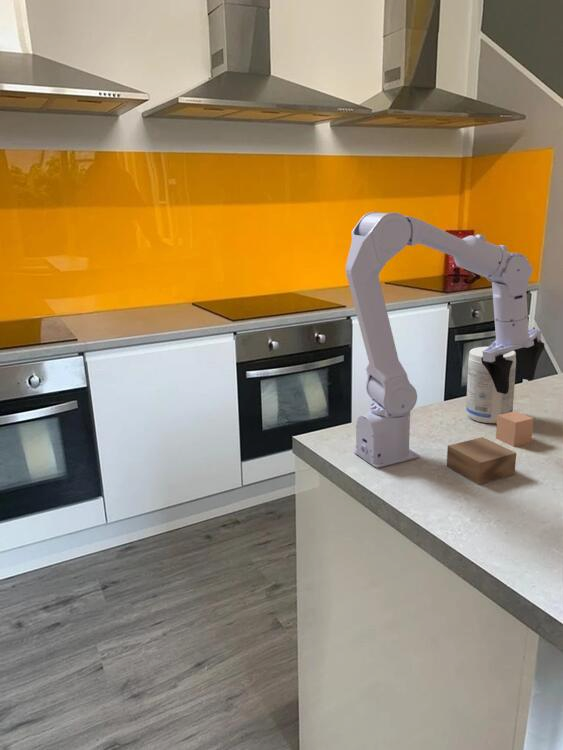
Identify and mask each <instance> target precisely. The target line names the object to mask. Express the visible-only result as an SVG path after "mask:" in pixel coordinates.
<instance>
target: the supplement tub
mask: <svg viewBox="0 0 563 750" xmlns="http://www.w3.org/2000/svg"><path fill="white" fill-rule="evenodd" d="M488 347H489V346H479V347H474V348H472V349H470V351H469V353H468V362H467V383H466V384H467V386H466V404H465V407H466V409H465V412H466V413H465V414H466V415H467V417H468V418H470V419H471V420H473V421H475V422H478V423H479V422H480V423H482V424H483V423H485V424H497V416H498V415H501V414H505V413H509V412H514V411H513V410H514V399H515V383H516V371H517V368H516V366H517V358H516V356H517V353H516V351H515V350H513V351H511V352H509V353H507V354H505V355H503V358H504V357H505V359H506V360H512V361H513V363H512V366H511V369H510V374H509V390H508V393H507V394H503V393H499V392H497V391H496V388H495V385H494V382H493V380H492V378H491V376H490V374H489V372H488V370H487V369H486V367H485V366H484V365H483V364H482V360H481V358H482V357H483V352H482V351H484V350H486V349H487V348H488Z"/></svg>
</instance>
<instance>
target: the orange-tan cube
mask: <svg viewBox="0 0 563 750" xmlns="http://www.w3.org/2000/svg"><path fill="white" fill-rule="evenodd" d="M533 426H534V417H531V416H528V415H526V414H523V413H521V412H518V411H516V410H514V411H513V412H509V413H505V414H501V415H498V416H497V423H496V431H495V439H496V440H498V441H500V442H502V443H504V444H507V445H508V446H512V447H514V448H515V447H519V446H522V445H526V444H529V443H532V439H533V428H534V427H533Z"/></svg>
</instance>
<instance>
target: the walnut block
mask: <svg viewBox="0 0 563 750" xmlns="http://www.w3.org/2000/svg"><path fill="white" fill-rule="evenodd" d="M516 461H517V452H515V451H513V450H511V449H509V448H507V447H504V446H503V445H500V444H499V443H496V442H494V441H493V440H490V439H488V438H486V437H483V436H481V437H477V438H473V439H469V440H466V441H460V442H458V443H454V444H453V443H452V444H448V445H447V451H446V467H447V468H449V469H450V470H452V471H454V472H456V473H458V474H459V475H460V476H463V477H464V478H466V479H468V480H469V481H471V482H473V483H474V484H476V485H483V484H486V483H490V482H492V481H496V480H500V479H503V478H507V477H511V476H513V475H515V473H516V472H515V471H516V465H517V464H516V463H517V462H516Z"/></svg>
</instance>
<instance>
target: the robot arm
mask: <svg viewBox="0 0 563 750" xmlns="http://www.w3.org/2000/svg"><path fill="white" fill-rule="evenodd" d="M486 239H487V236H484V235H482V234H475V236H474V235H468V236H466V237H463V238H460V237H458V236H457V235H454V234H451V233H449V232H447V231H445V230H444V229H441V228H439V227H437V226H435V225H433V224H430V223H428V222H426V221H424V220H422V219H419V218H417V217H413V216H409V215H403V214H402V213H399V212H394V211H392V212H389V213H387V212H378V211H370V212H367V213H365V214H364V215H362V217H361V218H360V219H359V221H358V222H357V223H356V225H355V226H354V228H353V229H351V244H350V247H349V251H348V255H347V259H346V263H345V275H346V279H347V283H348V286H349V290H350V293H351V294H350V295H351V297H352V302H353V306H354V310H355V314H356V318H357V321H358V324H359V328H360V329H359V330H360V334H361V337H362V339H363V340H362V341H363V345H364V348H365V353H366V356H367V360H368V365H367V366H366V369H365V370H366V373H367V374H366V375H367V379H366V384H365V389H366V393H367V394H368V396H369V397H370V398H371V404H370V410H368V411H367V412H366V413H365V414H362V415H360V416H359V417H358V418H357V420H356V424H355V425H356V428H355V431H356V432H355V435H356V436H355V437H356V438H355V443H356V444H355V449H354V450H353V452H354V454H356V455H358V456H359V457H360V458H362V460H365V461H366V462H367V463H369V464H370V465H372V466H373V467H375V468H378V469H379V468H382V467H387V466H390V465H395V464H398V463H402V462H407V461H410V460H414V459H418V458H419V457H420V454H419V453H417V452H415V451H413V450H411V449H410V437H411V435H410V434H411V433H410V431H411V411H412V410H413V409H414V408H415V406H416V404H417V400H418V394H417V390H416V388H415V387H414V385H413V384H412V383H411V382H410V380H409V378H408V373H407V372H406V370H405V368H404V367H403V365H402V363H401V361H400V360H399V357H398V352H397V351H398V350H397V348H396V344H395V339H394V336H393V330H392V327H391V322H390V318H389V315H388V310H387V306H386V302H385V298H384V293H383V289H382V284H381V281H380V277H379V276H380V273H381V272H382V270H383V269H384V267H385V265H386V264H387V262H389V261H390V260H391V259H393V258H394V257H395V256H396V255H397V254H399V253H400V252H401V251H403V250H404V248H405V247H406V246H415V245H421V246H425V247H426V248H430V249H433V250H435V251H438V252H441V253H443V254H446V255H448V256H452V258H453V261H454V263H455V264H456V265H455V266H457V267H459V268H461V269H463V270H466V271H469V272H472V273H474V274H476V275H479V276H481V277H484V278H486V280H487V281H488V282H491V286H492V287H491V288H492V301H493V315H494V316H493V318H494V327H495V328H494V329H495V330H494V331H495V340H494V341H493V342H492V343H491V344H490V345H488V346H487V347H488V348H487V349H486V350H484V351H482V352H483V357H482V358H481V360H482V364H483V365H484V366H485V367H486V369H487V370H488V372H489V374H490V376H491V378H492V380H493V382H494V385H495V388H496V391H497V392H499V393H503V394H507V393H508V390H509V374H510V369H511V366H512V363H513V361H512V360H506V359H505V357H504V358H503V355H505V354H507V353H509V352H511V351H515V353H516V356H517V360H518V366H519V371H520V376H521V379H522V380H527V381H533V380H534V378H535V373H536V370H537V365H538V363H539V362H538V361H539V359H540V356H541V355H542V353H543V351H544V350H545V342H542V341H540V340H542V330H541V329H538V328H537V329H536V328H531V329H529V321H528V320H529V316H528V315H529V314H528V298H527V291H528V286H529V285H528V284H529V281H530V279H531V277H532V276H533V275H532V274H533V269H534V266H532V265H531V264H530V261H529V260H528V258H527V256H525V255H524V254H522V253H517V252H509V251H508V246H506V245H502V244H499V245H496V244H493V243H492V242H489V241H487V240H486Z"/></svg>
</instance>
